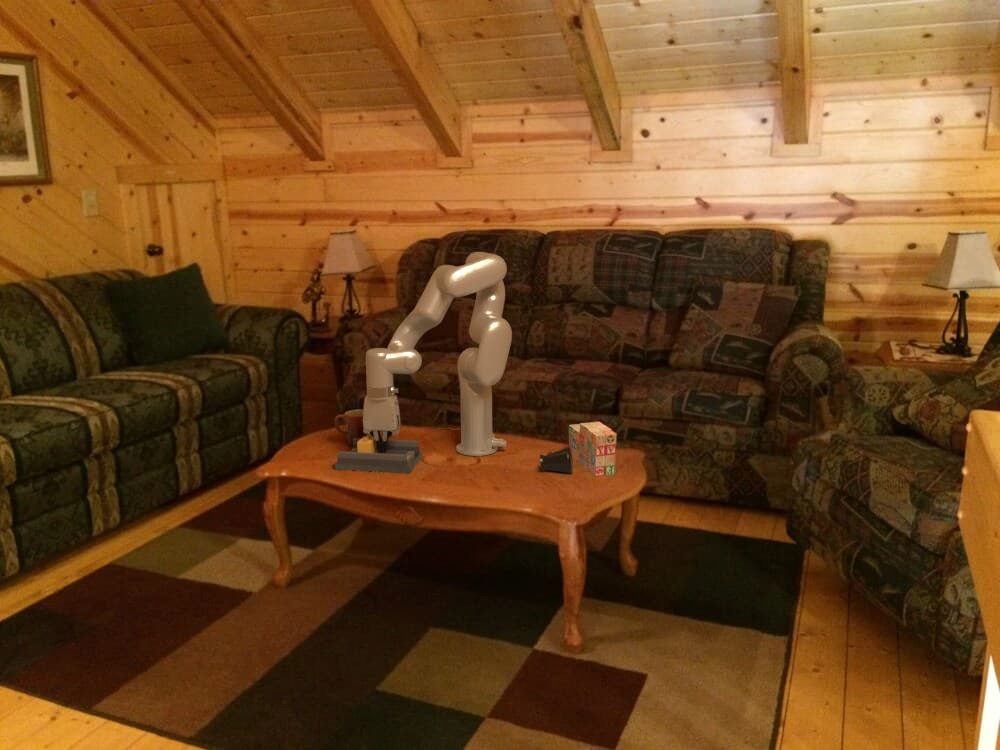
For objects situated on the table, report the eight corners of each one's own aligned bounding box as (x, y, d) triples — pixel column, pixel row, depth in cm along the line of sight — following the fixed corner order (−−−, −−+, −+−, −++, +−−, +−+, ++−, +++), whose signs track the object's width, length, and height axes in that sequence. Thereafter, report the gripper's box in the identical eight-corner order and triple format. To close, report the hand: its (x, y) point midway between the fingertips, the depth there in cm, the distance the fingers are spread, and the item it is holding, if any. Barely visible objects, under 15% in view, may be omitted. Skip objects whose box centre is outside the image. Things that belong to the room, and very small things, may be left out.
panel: (422, 458, 253) (422, 448, 252) (409, 473, 239) (409, 463, 239) (351, 454, 256) (351, 445, 256) (335, 469, 243) (334, 459, 242)
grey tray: (419, 451, 253) (419, 440, 252) (405, 467, 239) (405, 456, 238) (355, 448, 256) (354, 437, 255) (337, 463, 242) (337, 453, 241)
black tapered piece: (572, 475, 236) (541, 479, 237) (576, 463, 253) (548, 466, 255) (568, 449, 235) (538, 452, 237) (573, 438, 253) (545, 441, 254)
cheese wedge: (377, 453, 250) (376, 434, 249) (371, 459, 245) (370, 440, 243) (364, 452, 251) (363, 433, 250) (357, 459, 245) (357, 439, 244)
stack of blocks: (568, 454, 256) (568, 414, 253) (587, 452, 257) (588, 413, 255) (594, 477, 236) (595, 434, 233) (615, 475, 237) (616, 432, 235)
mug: (376, 440, 270) (375, 409, 268) (371, 448, 262) (370, 416, 260) (339, 440, 271) (337, 409, 269) (332, 448, 262) (331, 416, 260)
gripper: (409, 389, 245) (410, 450, 249) (359, 387, 247) (361, 447, 252) (401, 395, 238) (403, 458, 242) (350, 393, 240) (353, 455, 244)
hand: (382, 452), depth 247 cm, fingers closed
